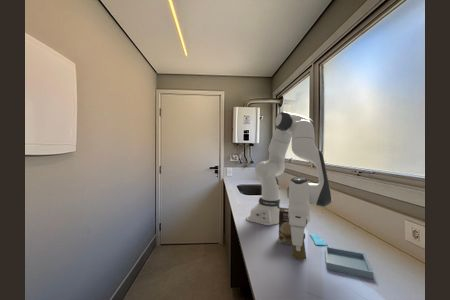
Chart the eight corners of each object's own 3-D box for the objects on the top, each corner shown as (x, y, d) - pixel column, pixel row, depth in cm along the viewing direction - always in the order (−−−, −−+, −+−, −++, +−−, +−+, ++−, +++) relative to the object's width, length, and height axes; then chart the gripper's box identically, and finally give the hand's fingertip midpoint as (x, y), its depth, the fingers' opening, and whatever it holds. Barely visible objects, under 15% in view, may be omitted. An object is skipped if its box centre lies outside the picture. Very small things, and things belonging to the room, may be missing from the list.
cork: (289, 252, 89) (289, 228, 89) (302, 252, 90) (302, 228, 90) (295, 260, 83) (295, 234, 83) (308, 259, 84) (309, 233, 84)
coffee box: (278, 243, 98) (278, 210, 98) (279, 237, 104) (279, 207, 104) (297, 246, 95) (297, 212, 95) (297, 240, 101) (297, 208, 101)
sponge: (320, 234, 106) (309, 232, 107) (329, 245, 95) (316, 243, 95) (320, 237, 107) (308, 235, 107) (328, 248, 95) (315, 246, 96)
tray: (326, 268, 78) (326, 262, 77) (324, 251, 90) (324, 246, 90) (373, 279, 71) (373, 272, 71) (364, 259, 84) (364, 253, 84)
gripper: (293, 207, 97) (293, 235, 97) (288, 222, 78) (288, 256, 79) (307, 209, 94) (307, 238, 95) (305, 224, 76) (305, 260, 76)
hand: (298, 246), depth 86 cm, fingers closed on cork, 5 cm apart
